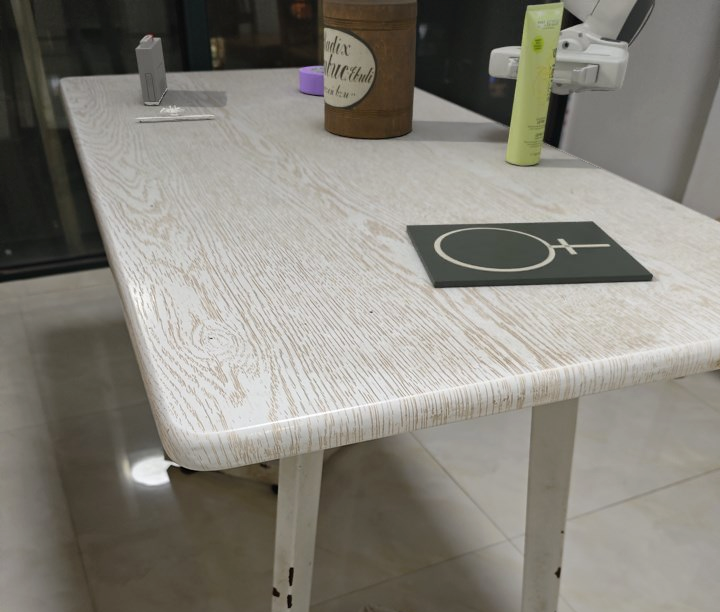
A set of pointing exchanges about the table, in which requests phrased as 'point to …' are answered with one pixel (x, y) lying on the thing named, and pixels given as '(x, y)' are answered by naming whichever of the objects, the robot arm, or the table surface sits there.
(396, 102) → the wooden container
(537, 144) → the tube
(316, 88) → the tape roll
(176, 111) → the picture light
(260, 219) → the table surface
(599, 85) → the robot arm
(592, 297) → the table surface
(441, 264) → the chalkboard
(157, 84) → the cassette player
